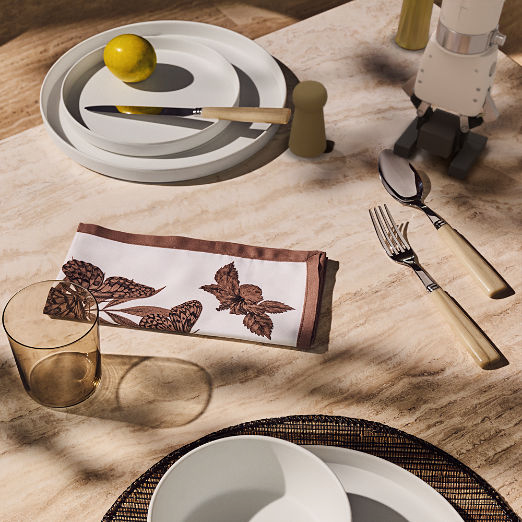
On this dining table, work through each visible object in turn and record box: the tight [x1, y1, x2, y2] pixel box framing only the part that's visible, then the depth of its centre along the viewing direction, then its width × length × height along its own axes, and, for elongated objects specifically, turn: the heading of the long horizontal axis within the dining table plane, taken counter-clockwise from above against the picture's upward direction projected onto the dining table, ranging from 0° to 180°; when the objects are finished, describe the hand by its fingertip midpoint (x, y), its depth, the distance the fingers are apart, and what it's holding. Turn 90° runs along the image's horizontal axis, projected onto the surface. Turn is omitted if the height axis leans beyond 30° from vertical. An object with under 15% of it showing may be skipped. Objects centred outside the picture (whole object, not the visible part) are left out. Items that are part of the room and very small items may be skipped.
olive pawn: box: [288, 79, 328, 158], centre depth 104 cm, size 6×6×11 cm
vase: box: [394, 0, 435, 51], centre depth 121 cm, size 6×6×14 cm
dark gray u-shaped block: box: [392, 114, 489, 181], centre depth 106 cm, size 12×9×2 cm
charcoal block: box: [416, 107, 460, 159], centre depth 103 cm, size 5×6×4 cm
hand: (440, 139), depth 104 cm, fingers closed on charcoal block, 4 cm apart
